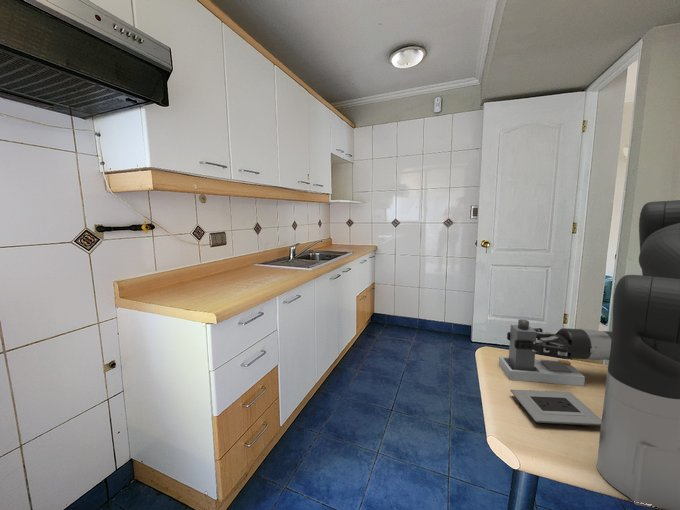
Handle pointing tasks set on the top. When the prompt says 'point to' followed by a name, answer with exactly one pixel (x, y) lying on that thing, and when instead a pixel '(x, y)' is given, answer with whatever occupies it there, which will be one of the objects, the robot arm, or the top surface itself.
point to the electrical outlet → (556, 407)
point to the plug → (521, 357)
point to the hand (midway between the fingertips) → (511, 340)
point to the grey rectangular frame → (545, 372)
